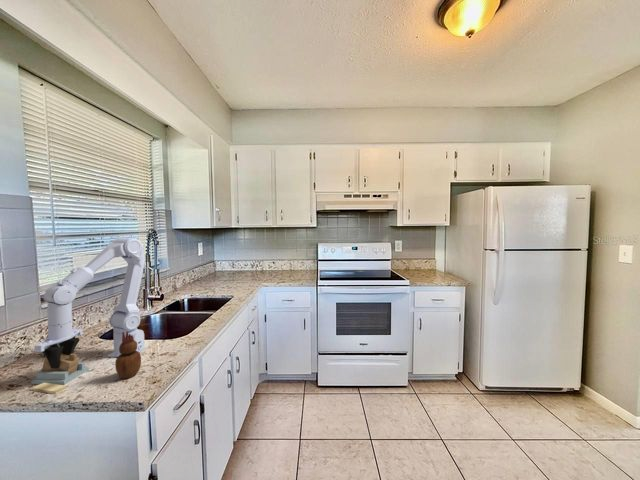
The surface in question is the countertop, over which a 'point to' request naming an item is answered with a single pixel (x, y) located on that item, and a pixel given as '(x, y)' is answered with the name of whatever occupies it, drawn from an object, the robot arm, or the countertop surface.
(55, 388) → the plank
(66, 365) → the tan pegged block
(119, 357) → the wooden figurine
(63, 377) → the jig
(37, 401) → the countertop surface
